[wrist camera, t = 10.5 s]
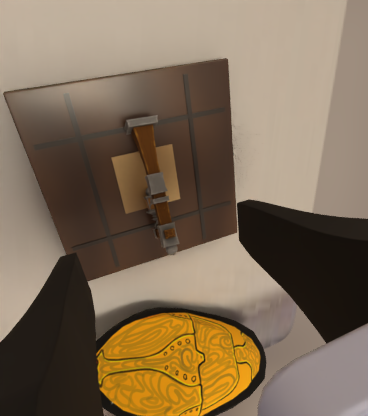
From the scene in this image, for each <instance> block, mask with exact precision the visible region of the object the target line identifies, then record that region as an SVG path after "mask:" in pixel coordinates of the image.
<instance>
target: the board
mask: <svg viewBox="0 0 368 416" xmlns="http://www.w3.org/2000/svg"><path fill="white" fill-rule="evenodd" d="M3 95H4V97H5V100H6V103H7V105H8V108H9V110H10V113H11V115H12V118H13V120H14V123H15V125H16V128H17V130H18V133H19V135H20V138H21V141H22V143H23V146H24V148H25V151H26V153H27V156H28V158H29V161H30V163H31V166H32V168H33V171H34V173H35V176H36V178H37V181H38V184H39V186H40V189H41V191H42V194H43V196H44V199H45V201H46V204H47V206H48V209H49V211H50V214H51V216H52V219H53V222H54V224H55V227H56V229H57V232H58V234H59V237H60V239H61V242H62V244H63V247H64V249H65V252H66V254H67V255H69V254H72V253H75V252H76V253H77V255H78V258H79V261H80V263H81V266H82V269H83V271H84V274H85V277H86V279H87V281H90V280H93V279H96V278H99V277H102V276H105V275H108V274H112V273H115V272H118V271H121V270H124V269H127V268H130V267H133V266H136V265H139V264H142V263H145V262H148V261H151V260H154V259H157V258H160V257H164V256H167V255H169V254H168V253H167V252H166V247H165V248H163V247H161V240H160V238H155V236H154V233H153V229H155V224H156V223H157V222H156V221H154V220H152V219H153V218H155V217H152V216H153V215H152V214H149V213H146V212H147V211H148V207H147V203H146V200H145V199H144V197H146V196H147V194H146V189H147V188H148V186H147V181H146V179H145V176H147V175H146V171H145V168H144V164H143V161H142V159H141V156H140V153H139V151H138V148H137V145H136V143H135V140H134V138H133V136H132V134H128V135H126V131H125V130H124V127H125V123H126V120H130V119H137V118H143V117H149V116H156V115H158V116H157V120H158V124H157V125H156V127H155V128H154V140H155V146H156V153H157V159H158V164H159V168H160V172H163V178H164V182H165V186H166V188H167V190H168V191H166V196H169V199H170V200H169V201H167V202H168V207H169V211H170V216H171V220H172V222H175V229H176V233H177V237H178V241H179V243H180V244H176V245H177V248H178V250H177V252H179V251H182V250H185V249H188V248H191V247H194V246H197V245H200V244H203V243H206V242H209V241H212V240H216V239H219V238H222V237H225V236H228V235H231V234H234V233H237V217H236V199H235V181H234V162H233V144H232V125H231V107H230V89H229V70H228V59H227V58H225V59H217V60H211V61H204V62H198V63H191V64H185V65H178V66H172V67H165V68H158V69H152V70H145V71H139V72H132V73H126V74H119V75H113V76H106V77H99V78H93V79H86V80H80V81H73V82H67V83H60V84H53V85H47V86H40V87H34V88H27V89H21V90H14V91H8V92H4V93H3ZM157 226H158V224H156V227H157Z"/></svg>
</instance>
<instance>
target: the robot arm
mask: <svg viewBox="0 0 368 416" xmlns="http://www.w3.org/2000/svg"><path fill="white" fill-rule="evenodd" d="M237 210H238V228H239V241H240V242H241V244H242V245H243V246H244V248H245V249H246V251H247V252H248V253H249V254H250V256H251V257H252V258H253V259H254V260H255V261H256V262H257V263H258V264H259V265H260V266H261V267H262V268H263V269H264V270H265V271H266V272H267V273H268V274H269V275H270V276H271V277H272V278H273V279H274V280H275V281H276V282H277V283H278V284H279V285H280V286H281V287H282V288H283V289H284V290H285V291H286V292H287V293H288V294H289V295H290V296H291V298H292V299H293V300H294V301H295V303H296V304H297V305H298V306H299V308H300V309H301V310H302V311H303V312H304V314H305V315H306V316H307V318H308V319H309V320H310V322H311V323H312V324H313V326H314V327H315V328H316V329H317V331H318V332H319V333H320V335H321V336H322V338H323V339H324V340H325V342H326V343H327V344H325V345H323V346H321V347H319V348H317V349H315V350H313V351H310V352H308V353H306V354H304V355H302V356H300V357H298V358H296V359H294V360H293V361H291V362H290V363H289V364H287V365H286V366H284V367H283V368H281V369H280V370H278V371H277V372H276V373H275V374H274V375H273V377H272V378H271V379H270V380H269V382H268V383H267V384H266V385H265V386H264V388H263V391H262V394H261V397H260V400H259V404H258V416H368V219H359V218H345V217H336V216H327V215H320V214H314V213H309V212H304V211H299V210H294V209H290V208H286V207H281V206H277V205H273V204H269V203H265V202H260V201H255V200H246V201H243V202H239V203H237ZM0 416H104V415H103V408H102V402H101V395H100V388H99V381H98V372H97V356H96V329H95V311H94V305H93V299H92V294H91V290H90V287H89V285H88V282H87V279H86V277H85V274H84V271H83V269H82V266H81V263H80V261H79V258H78V255H77V253H76V252H75V253H72V254H69V255H65V256H62V257H60V258H59V260H58V262H57V263H56V265H55V267H54V269H53V270H52V272H51V274H50V276H49V278H48V279H47V281H46V283H45V284H44V286H43V288H42V289H41V291H40V293H39V294H38V296H37V297H36V299H35V300H34V301H33V303H32V304H31V306H30V307H29V309H28V310H27V312H26V313H25V314H24V316H23V317H22V318H21V319H20V321H19V322H18V323H17V324H16V325H15V327H14V328H13V329H12V330H11V331H10V333H9V334H8V335H7V336H6V337H5V338H4V339H3V340H2V341H1V342H0Z"/></svg>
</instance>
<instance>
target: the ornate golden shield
mask: <svg viewBox="0 0 368 416" xmlns="http://www.w3.org/2000/svg"><path fill="white" fill-rule="evenodd" d="M96 356H97V372H98V381H99V388H100V395H101V402H102V407H103V408H104V409H105V410H107V411H109V412H110V413H112V414H114V415H115V416H216V415H218V414H220V413H223V412H225V411H227V410H229V409H231V408H233V407H234V406H236V405H237V404H239V403H240V402H242V401H243V400H245V399H246V398H248V397H249V396H250V395H251V394H252V393H253V392H254V391H255V390H256V388H257V387H258V386H259V385H260V384H261V382H262V381H263V380H264V378H265V369H266V356H265V352H264V349H263V347H262V345H261V343H260V341H259V340H258V338H257V337H256V335H255V333H254V332H253V331H252V330H250V329H248V328H247V327H245V326H243V325H242V324H240V323H238V322H237V321H234V320H231V319H227V318H224V317H221V316H217V315H212V314H207V313H202V312H197V311H192V310H187V309H181V308H154V309H148V310H144V311H142V312H139V313H137V314H134V315H132V316H130V317H129V318H127V319H125V320H123V321H121V322H120V323H118V324H117V325H115V326H114V327H112V328H111V329H110V330H108V331H107V332H106V333H105V334H104V335H102V336H101V337H100V338H99V339H98V340H97V341H96Z"/></svg>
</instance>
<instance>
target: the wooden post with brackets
mask: <svg viewBox="0 0 368 416" xmlns="http://www.w3.org/2000/svg"><path fill="white" fill-rule="evenodd" d="M157 116H158V115H156V116H149V117H143V118H137V119H130V120H126V123H125V127H124V130H125V131H126V135H128V134H132V136H133V138H134V140H135V143H136V145H137V148H138V151H139V153H140V156H141V159H142V161H143V164H144V168H145V171H146V175H147V176H145V179H146V181H147V186H148V188H147V189H146V194H147V196H146V197H144V199H145V200H146V203H147V207H148V211H147V212H146V213H149V214H152V215H153V216H152V217H155V218H153V219H152V220H154V221H156V222H157V223H156V224H158V226H157V227H156V224H155V229H153V233H154V236H155V238H160V240H161V247H163V248H165V247H166V252H167V253H168V254H169V255H174V254H176V253H177V250H178V248H177V245H176V244H180V243H179V241H178V237H177V233H176V229H175V222H172V220H171V216H170V211H169V207H168V202H167V201H169V200H170V199H169V196H166V191H168V190H167V188H166V186H165V182H164V178H163V172H160V168H159V164H158V159H157V153H156V146H155V140H154V128H155V127H156V125H157V124H158V120H157Z"/></svg>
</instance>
